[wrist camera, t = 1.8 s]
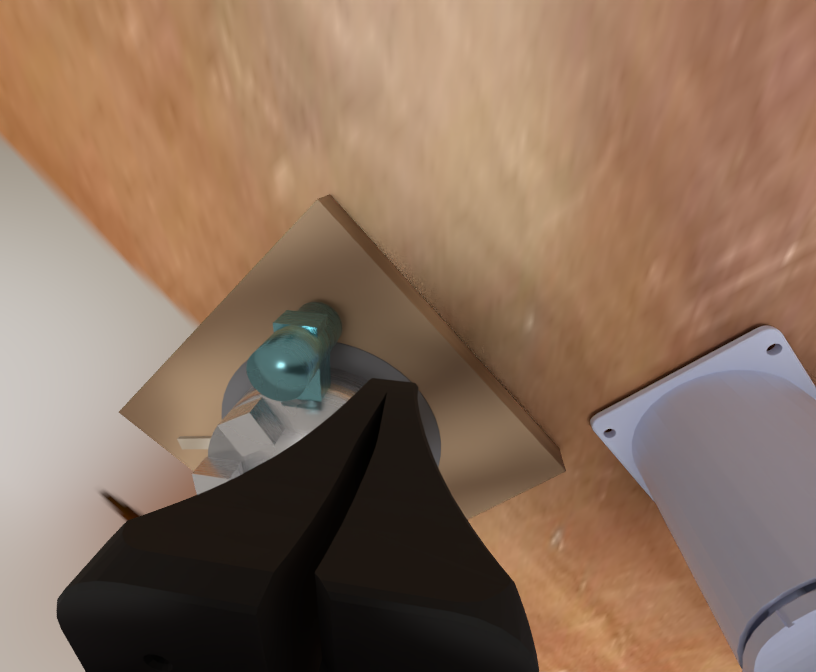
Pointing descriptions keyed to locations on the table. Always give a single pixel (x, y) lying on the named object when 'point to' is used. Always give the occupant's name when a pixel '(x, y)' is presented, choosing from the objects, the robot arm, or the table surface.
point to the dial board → (351, 362)
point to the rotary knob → (280, 395)
